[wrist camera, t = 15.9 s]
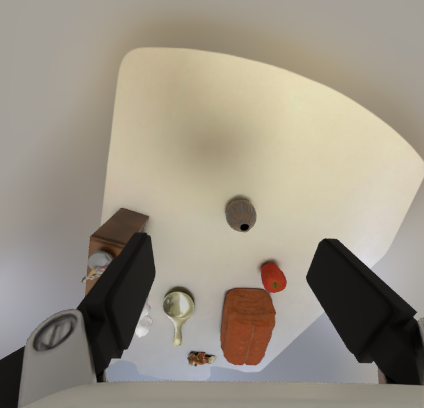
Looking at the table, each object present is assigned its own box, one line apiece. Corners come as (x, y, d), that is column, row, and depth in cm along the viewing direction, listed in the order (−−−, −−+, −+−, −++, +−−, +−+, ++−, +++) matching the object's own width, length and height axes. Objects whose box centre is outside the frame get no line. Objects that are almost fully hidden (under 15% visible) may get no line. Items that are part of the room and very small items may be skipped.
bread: (219, 334, 66) (220, 370, 56) (224, 287, 54) (227, 321, 45) (258, 335, 66) (266, 370, 56) (271, 288, 55) (284, 323, 45)
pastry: (214, 361, 75) (214, 371, 71) (187, 358, 74) (186, 369, 70) (217, 353, 72) (217, 363, 68) (189, 350, 71) (188, 361, 67)
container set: (131, 287, 54) (122, 303, 49) (147, 287, 54) (140, 304, 49) (138, 324, 63) (132, 341, 58) (152, 324, 63) (147, 341, 58)
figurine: (95, 244, 32) (71, 268, 26) (119, 249, 32) (101, 274, 27) (95, 264, 34) (73, 290, 29) (117, 268, 35) (100, 295, 29)
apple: (267, 254, 49) (275, 275, 42) (282, 263, 50) (294, 285, 43) (253, 268, 51) (259, 290, 44) (269, 276, 52) (277, 298, 45)
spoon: (190, 340, 70) (190, 347, 69) (165, 339, 70) (163, 345, 68) (196, 288, 54) (195, 294, 52) (162, 285, 53) (161, 292, 51)
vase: (257, 210, 42) (268, 229, 34) (235, 224, 44) (240, 246, 36) (242, 189, 40) (249, 206, 32) (219, 206, 42) (220, 225, 34)
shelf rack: (112, 259, 49) (84, 297, 38) (121, 207, 42) (89, 236, 31) (136, 265, 50) (116, 304, 39) (149, 216, 43) (128, 247, 32)
